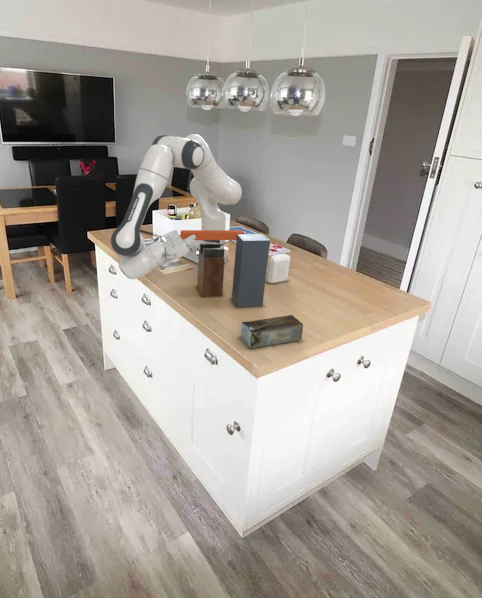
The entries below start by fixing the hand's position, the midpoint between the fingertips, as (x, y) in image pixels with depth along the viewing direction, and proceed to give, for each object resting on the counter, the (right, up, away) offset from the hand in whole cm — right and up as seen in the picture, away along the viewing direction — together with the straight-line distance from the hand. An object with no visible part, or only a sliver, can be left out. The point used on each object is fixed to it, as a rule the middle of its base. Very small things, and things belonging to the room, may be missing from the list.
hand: (193, 234), depth 156 cm
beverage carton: (+27, -38, -20) cm, 50 cm away
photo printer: (+34, -17, +27) cm, 47 cm away
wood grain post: (+5, -21, +12) cm, 25 cm away
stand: (+20, -26, +5) cm, 33 cm away
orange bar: (+7, -1, +3) cm, 7 cm away
